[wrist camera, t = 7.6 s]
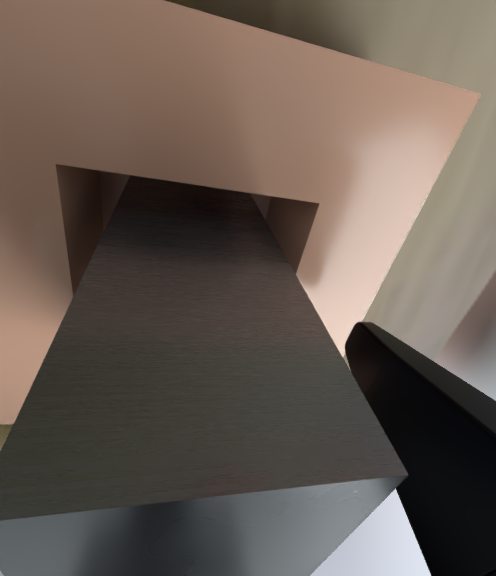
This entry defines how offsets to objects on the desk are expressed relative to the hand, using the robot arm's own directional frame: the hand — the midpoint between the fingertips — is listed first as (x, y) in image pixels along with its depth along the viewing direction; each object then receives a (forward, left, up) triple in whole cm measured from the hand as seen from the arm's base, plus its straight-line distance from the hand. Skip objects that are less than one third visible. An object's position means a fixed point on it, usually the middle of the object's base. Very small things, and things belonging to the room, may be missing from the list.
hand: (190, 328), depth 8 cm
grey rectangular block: (0, 0, -6) cm, 6 cm away
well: (0, 0, -6) cm, 6 cm away
